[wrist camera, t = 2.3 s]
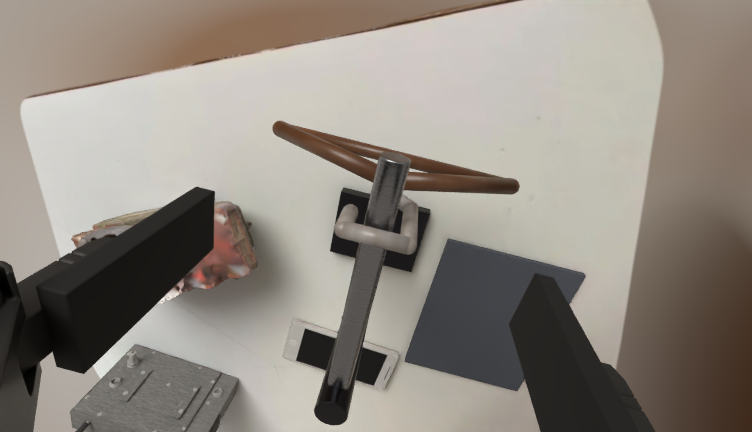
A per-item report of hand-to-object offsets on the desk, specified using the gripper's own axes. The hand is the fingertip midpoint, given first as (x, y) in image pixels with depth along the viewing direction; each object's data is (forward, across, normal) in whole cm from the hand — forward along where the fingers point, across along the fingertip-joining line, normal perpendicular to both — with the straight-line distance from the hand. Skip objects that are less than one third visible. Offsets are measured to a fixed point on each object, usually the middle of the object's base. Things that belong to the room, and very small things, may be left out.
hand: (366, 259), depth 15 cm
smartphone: (+25, -1, -33) cm, 41 cm away
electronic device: (+25, -24, -44) cm, 56 cm away
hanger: (+15, 0, 0) cm, 15 cm away
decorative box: (+25, -22, -16) cm, 37 cm away
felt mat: (+25, +16, -21) cm, 36 cm away
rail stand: (+25, 0, -6) cm, 26 cm away
